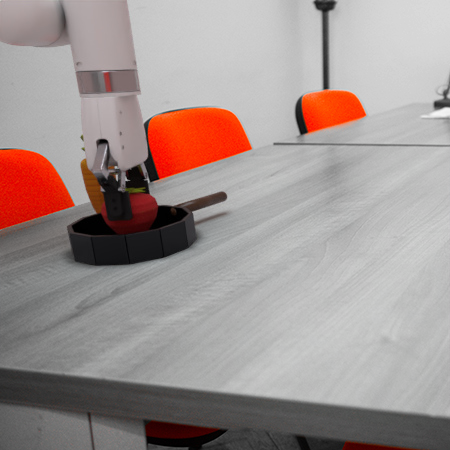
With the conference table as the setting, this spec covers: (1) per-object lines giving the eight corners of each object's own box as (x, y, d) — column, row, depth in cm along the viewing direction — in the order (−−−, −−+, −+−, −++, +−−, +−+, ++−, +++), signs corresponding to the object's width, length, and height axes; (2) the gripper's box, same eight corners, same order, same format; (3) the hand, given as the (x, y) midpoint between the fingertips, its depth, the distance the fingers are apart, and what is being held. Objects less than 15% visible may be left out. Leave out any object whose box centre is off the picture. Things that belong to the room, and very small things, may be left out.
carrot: (131, 223, 95) (115, 132, 91) (103, 231, 91) (85, 136, 87) (112, 219, 98) (97, 131, 93) (84, 227, 94) (67, 135, 89)
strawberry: (167, 244, 83) (157, 176, 80) (110, 254, 79) (97, 184, 76) (158, 234, 88) (149, 170, 85) (104, 244, 84) (92, 177, 81)
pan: (127, 271, 73) (121, 241, 72) (47, 255, 80) (41, 227, 79) (264, 217, 96) (262, 194, 95) (193, 209, 103) (190, 186, 102)
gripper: (108, 83, 85) (127, 199, 90) (46, 89, 68) (74, 232, 73) (159, 81, 85) (176, 197, 90) (110, 87, 69) (134, 229, 74)
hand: (130, 212), depth 82 cm, fingers closed on strawberry, 6 cm apart
